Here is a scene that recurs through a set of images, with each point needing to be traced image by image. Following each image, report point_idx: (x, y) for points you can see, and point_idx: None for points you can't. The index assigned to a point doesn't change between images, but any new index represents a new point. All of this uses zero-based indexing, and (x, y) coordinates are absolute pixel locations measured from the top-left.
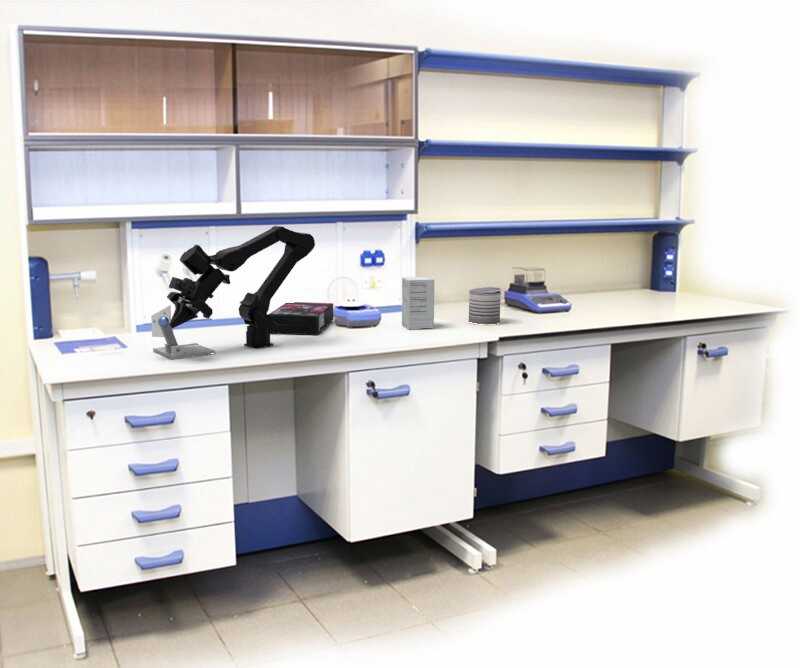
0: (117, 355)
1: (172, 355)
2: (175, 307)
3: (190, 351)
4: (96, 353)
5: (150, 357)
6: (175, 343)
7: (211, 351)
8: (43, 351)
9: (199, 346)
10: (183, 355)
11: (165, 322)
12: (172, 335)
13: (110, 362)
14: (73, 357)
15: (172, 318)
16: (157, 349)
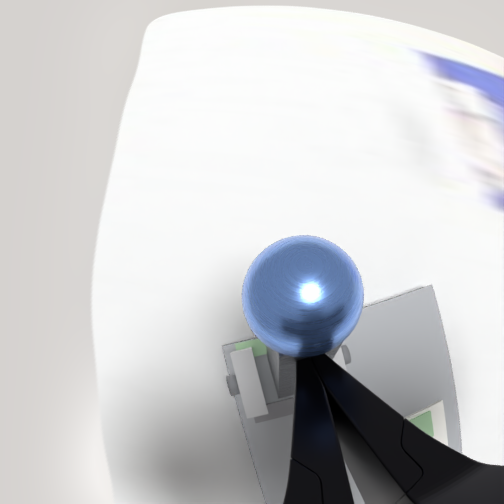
0: (388, 150)
1: (233, 350)
2: (488, 467)
3: None
4: (425, 108)
5: None
6: (275, 382)
7: None
8: (446, 40)
9: None
10: (237, 405)
11: (244, 308)
12: (275, 370)
13: (272, 111)
14: (377, 55)
15: (360, 404)
16: (406, 300)
